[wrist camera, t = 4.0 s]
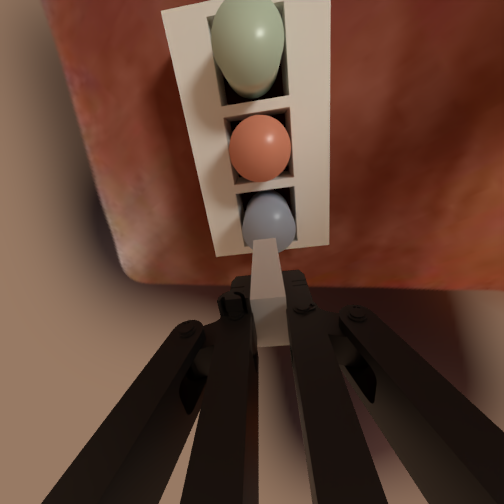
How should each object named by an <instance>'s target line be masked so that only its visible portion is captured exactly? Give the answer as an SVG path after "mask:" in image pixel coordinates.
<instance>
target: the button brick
mask: <svg viewBox="0 0 504 504" xmlns="http://www.w3.org/2000/svg"><path fill="white" fill-rule="evenodd" d="M290 153H291V143H290V138H289V135H288V133H287V131H286V129H285V128H284V126H283V125H282V124H281V123H280V122H279V121H278V120H276V119H275V118H273V117H270V116H267V115H254V116H250V117H248V118H246V119H244V120H243V121H242V122H240V123H239V125H238V126H237V127H236V128H235V130H234V131H233V133H232V136H231V139H230V143H229V155H230V159H231V162H232V164H233V166H234V168H235V169H236V171H237V172H238V173H239V174H240V175H241V176H242V177H244V178H246V179H248V180H250V181H253V182H266V181H269V180H272V179H274V178H275V177H277V176H278V175H279V174H280V173H281V172H282V171H283V170H284V169H285V167H286V165H287V163H288V161H289V158H290Z"/></svg>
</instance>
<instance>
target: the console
mask: <svg viewBox="0 0 504 504" xmlns="http://www.w3.org/2000/svg"><path fill="white" fill-rule="evenodd" d="M223 1H224V0H210V1H206V2H201V3H196V4H191V5H187V6H182V7H177V8H173V9H168V10H163V11H161V14H162V18H163V23H164V27H165V32H166V36H167V40H168V45H169V49H170V54H171V58H172V63H173V67H174V71H175V76H176V80H177V85H178V89H179V94H180V98H181V102H182V107H183V111H184V116H185V120H186V125H187V129H188V134H189V138H190V142H191V147H192V151H193V156H194V160H195V165H196V169H197V173H198V178H199V182H200V187H201V191H202V196H203V200H204V204H205V209H206V213H207V218H208V222H209V227H210V231H211V235H212V240H213V244H214V249H215V253H216V257H219V256H228V255H238V254H247V253H253V250H252V249H251V248H250V247H249V246H248V245H247V244H246V242H245V240H244V238H243V234H242V226H243V221H244V217H245V214H244V208H243V201H242V195H241V193H246V192H254V191H261V190H269V189H277V188H284V187H290V202H291V214H292V216H293V219H294V221H295V226H296V232H295V237H294V239H293V241H292V243H291V244H290V245H289V246H288V247H287V248H286V249H294V248H303V247H313V246H322V245H329V190H330V0H271V1H272V2H273V3H274V5H275V6H276V8H277V9H278V11H279V14H280V16H281V19H282V23H283V27H284V47H283V52H282V56H281V66H282V81H283V96H281V97H275V98H269V99H263V100H257V101H251V102H245V103H239V104H233V105H228V104H227V98H226V91H225V85H224V78H223V73H222V71H221V69H220V68H219V66H218V64H217V62H216V60H215V57H214V54H213V50H212V45H211V30H212V24H213V20H214V17H215V15H216V12H217V10H218V9H219V7H220V5H221V4H222V3H223ZM282 113H285V126H286V131H287V133H288V135H289V138H290V143H291V153H290V158H289V161H288V171H284V172H281V173H280V174H279V175H278V176H277V177H275V178H274V179H272V180H269V181H266V182H253V181H250V180H248V179H246V178H244V177H240V178H239V175H238V172H237V171H236V169H235V168H234V166H233V164H232V162H231V159H230V155H229V143H230V139H231V136H232V130H231V123H230V122H232V121H238V120H244V119H246V118H248V117H250V116H254V115H267V116H270V115H276V114H282Z"/></svg>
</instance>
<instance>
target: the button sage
mask: <svg viewBox="0 0 504 504" xmlns="http://www.w3.org/2000/svg"><path fill="white" fill-rule="evenodd" d="M211 45H212V50H213V54H214V57H215V60H216V62H217V64H218V66H219V68H220V69H221V71H222V73H223V75H224V76H225V78H226V80H227V81H228V83H229V85H230V86H231V88H232V89H233V90H234V91H235V92H236V93H237V94H238V95H240V96H241V97H244V98H247V99H255V98H259V97H261V96H263V95H265V94H266V93H267V92H268V91H269V90H270V89H271V87H272V86H273V84H274V82H275V80H276V77H277V73H278V69H279V64H280V60H281V56H282V52H283V47H284V27H283V23H282V19H281V16H280V14H279V11H278V9H277V8H276V6H275V5H274V3H273V2H272V1H271V0H224V1H223V3H222V4H221V5H220V7H219V9H218V10H217V12H216V15H215V17H214V20H213V24H212V30H211Z"/></svg>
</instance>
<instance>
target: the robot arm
mask: <svg viewBox="0 0 504 504" xmlns="http://www.w3.org/2000/svg"><path fill="white" fill-rule="evenodd" d="M217 303H218V306H219V311H220V315H221V318H220V319H219V320H218V321H216V322H214V323H211V324H208V325H205V326H203V325H202V323H201V322H199V321H197V320H189V321H185V322H182V323H181V324H179V325H177V327H175V329H173V331H172V332H171V333H170V335H169V336H168V337H167V339H166V340H165V341H164V343H163V344H162V345H161V346H160V348H159V349H158V350H157V352H156V353H155V354H154V356H153V357H152V358H151V360H150V361H149V362H148V364H147V365H146V366H145V367H144V369H143V370H142V371H141V373H140V374H139V375H138V377H137V378H136V379H135V381H134V382H133V383H132V385H131V386H130V387H129V389H128V390H127V391H126V392H125V394H124V395H123V397H122V398H121V399H120V401H119V402H118V403H117V404H116V406H115V407H114V408H113V410H112V411H111V412H110V414H109V415H108V416H107V418H106V419H105V420H104V421H103V423H102V424H101V425H100V427H99V428H98V429H97V431H96V432H95V433H94V435H93V436H92V437H91V439H90V440H89V441H88V443H87V444H86V445H85V446H84V448H83V449H82V450H81V452H80V453H79V454H78V456H77V457H76V458H75V460H74V461H73V462H72V464H71V465H70V466H69V468H68V469H67V470H66V472H65V473H64V474H63V475H62V477H61V478H60V479H59V481H58V482H57V484H56V485H55V486H54V487H53V489H52V490H51V492H50V493H49V494H48V495H47V497H46V498H45V499H44V500H43V502H42V503H41V504H158V503H159V501H160V499H161V497H162V494H163V492H164V490H165V488H166V485H167V483H168V481H169V479H170V476H171V474H172V472H173V470H174V467H175V465H176V463H177V461H178V458H179V456H180V454H181V452H182V449H183V447H184V445H185V443H186V440H187V438H188V436H189V434H190V431H191V429H192V427H193V424H194V422H195V420H196V418H197V416H198V413H199V411H200V414H199V419H198V424H197V428H196V432H195V437H194V442H193V446H192V451H191V456H190V460H189V465H188V469H187V474H186V479H185V483H184V488H183V492H182V497H181V501H180V504H259V493H258V490H259V489H258V488H259V487H258V351H257V345H258V347H269V346H280V345H281V346H282V345H290V351H291V362H292V367H293V373H294V379H295V386H296V393H297V400H298V407H299V413H300V421H301V428H302V434H303V441H304V448H305V454H306V462H307V469H308V475H309V482H310V489H311V495H312V502H313V504H388V502H387V499H386V496H385V494H384V491H383V488H382V485H381V482H380V480H379V477H378V474H377V471H376V469H375V465H374V463H373V460H372V457H371V454H370V451H369V448H368V446H367V443H366V440H365V437H364V434H363V432H362V429H361V426H360V423H359V420H358V417H357V415H356V412H355V409H354V407H353V403H352V401H351V398H350V395H349V392H348V389H347V386H346V384H345V381H344V378H343V375H342V372H343V373H344V375H345V376H346V378H347V379H348V381H349V382H350V384H351V385H352V387H353V389H354V390H355V392H356V393H357V395H358V396H359V398H360V399H361V401H362V402H363V404H364V405H365V407H366V408H367V410H368V412H369V413H370V415H371V416H372V417H373V419H374V421H375V422H376V424H377V425H378V427H379V428H380V430H381V431H382V433H383V434H384V436H385V438H386V439H387V441H388V442H389V444H390V445H391V447H392V448H393V450H394V451H395V453H396V454H397V456H398V457H399V459H400V460H401V462H402V464H403V465H404V466H405V468H406V470H407V471H408V473H409V474H410V476H411V477H412V479H413V480H414V482H415V483H416V485H417V486H418V488H419V489H420V491H421V493H422V494H423V496H424V497H425V499H426V500H427V502H428V503H429V504H504V432H503V431H502V430H501V429H500V428H499V427H497V426H496V425H495V424H494V423H493V422H492V421H491V420H490V419H489V418H488V417H486V416H485V415H484V414H483V413H482V412H481V411H480V410H479V409H478V408H477V407H476V406H475V405H474V404H472V403H471V402H470V401H469V400H468V399H467V398H466V397H465V396H464V395H463V394H462V393H461V392H459V391H458V390H457V389H456V388H455V387H454V386H453V385H452V384H451V383H450V382H449V381H447V380H446V379H445V378H444V377H443V376H442V375H441V374H440V373H439V372H437V370H435V369H434V368H433V367H432V366H431V365H430V364H429V363H428V362H427V361H426V360H425V359H423V358H422V357H421V356H420V355H419V354H418V353H417V352H416V351H415V350H414V349H413V348H411V347H410V346H409V345H408V344H407V343H406V342H405V341H404V340H403V339H402V338H401V337H400V336H399V335H397V334H396V333H395V332H394V331H393V330H392V329H391V328H390V327H389V326H388V325H386V324H385V323H384V322H383V321H382V320H381V319H380V318H379V317H378V316H377V315H376V314H374V313H373V312H372V311H371V310H369V309H368V308H366V307H363V306H359V305H347V306H345V307H343V308H342V309H341V310H340V311H339V313H333V312H328V311H324V310H321V309H320V308H318V306H317V305H316V303H314V302H313V299H312V296H311V293H310V291H309V288H308V285H307V282H306V279H305V276H304V274H303V273H302V272H301V271H300V270H290V271H281V266H280V260H279V254H278V249H277V243H276V238H269V239H260V240H253V255H252V272H251V275H248V276H238V277H236V278H235V279H234V280H233V281H232V284H231V290H230V291H228V292H226V293H224V294H222V295H221V296H220V297H219V298H218V300H217ZM340 369H341V370H342V372H341V370H340Z"/></svg>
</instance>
